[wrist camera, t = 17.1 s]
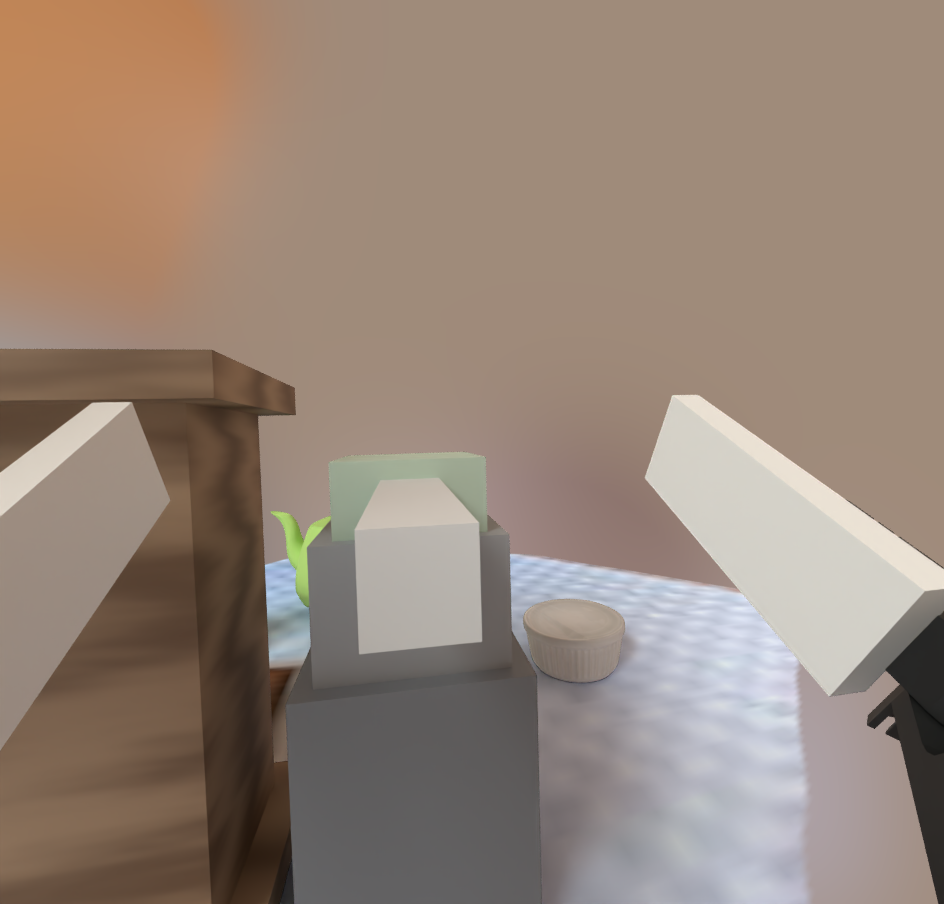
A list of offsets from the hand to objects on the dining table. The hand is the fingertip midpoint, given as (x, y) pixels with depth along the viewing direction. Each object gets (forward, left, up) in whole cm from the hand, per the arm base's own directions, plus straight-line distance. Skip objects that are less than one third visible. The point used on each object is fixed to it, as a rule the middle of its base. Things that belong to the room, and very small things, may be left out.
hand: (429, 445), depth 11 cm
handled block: (-3, +9, -5) cm, 11 cm away
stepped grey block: (-6, +14, -26) cm, 30 cm away
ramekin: (+5, +39, -26) cm, 47 cm away
